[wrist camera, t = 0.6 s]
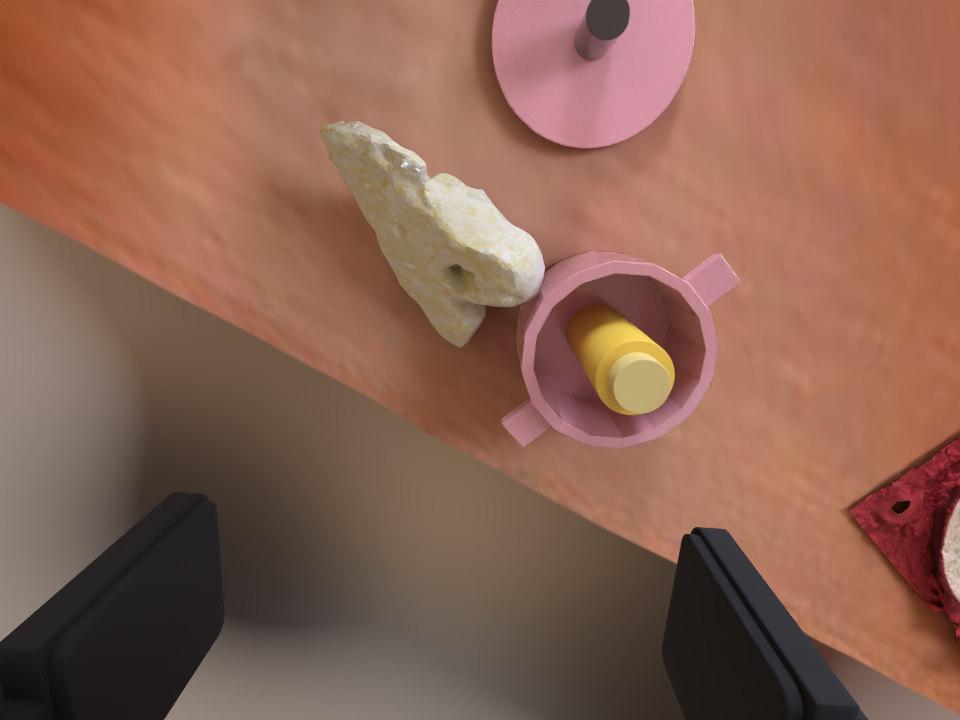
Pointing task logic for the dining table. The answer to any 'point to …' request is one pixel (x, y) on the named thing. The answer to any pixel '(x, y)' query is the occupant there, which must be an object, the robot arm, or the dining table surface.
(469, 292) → the cheese
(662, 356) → the yellow stepped cylinder
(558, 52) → the lid
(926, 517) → the plate with food
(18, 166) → the dining table surface
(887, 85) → the dining table surface
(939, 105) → the dining table surface
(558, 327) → the pot
